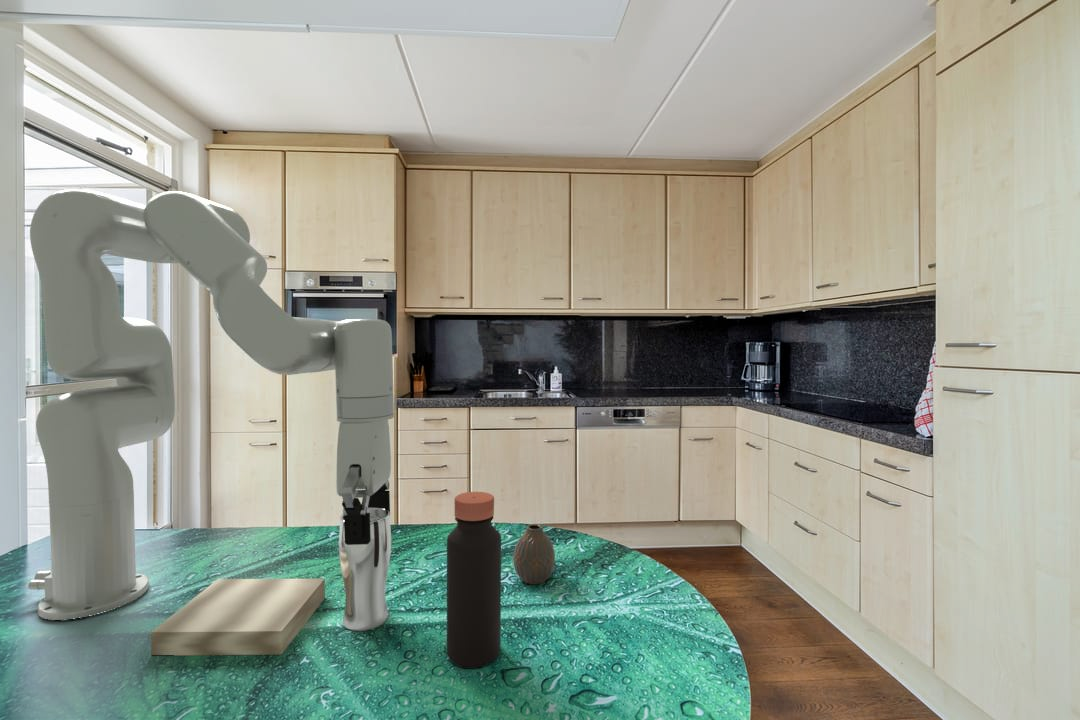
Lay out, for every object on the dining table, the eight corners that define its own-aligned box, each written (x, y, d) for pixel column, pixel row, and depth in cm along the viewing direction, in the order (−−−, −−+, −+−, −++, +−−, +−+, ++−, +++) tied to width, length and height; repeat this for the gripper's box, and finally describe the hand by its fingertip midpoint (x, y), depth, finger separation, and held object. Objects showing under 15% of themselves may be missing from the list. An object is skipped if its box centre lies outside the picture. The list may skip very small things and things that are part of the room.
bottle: (486, 675, 61) (486, 509, 60) (436, 662, 63) (436, 502, 62) (509, 643, 67) (510, 492, 66) (463, 632, 70) (463, 486, 69)
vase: (506, 583, 84) (506, 530, 83) (523, 566, 90) (523, 517, 90) (545, 592, 81) (546, 537, 81) (560, 573, 87) (561, 522, 87)
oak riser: (151, 655, 64) (150, 632, 64) (218, 598, 78) (217, 579, 78) (281, 654, 65) (281, 631, 64) (324, 597, 79) (324, 578, 78)
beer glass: (375, 636, 69) (375, 525, 68) (328, 629, 70) (327, 521, 69) (400, 609, 75) (399, 508, 75) (356, 603, 77) (356, 504, 76)
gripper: (358, 401, 80) (361, 509, 81) (312, 418, 63) (317, 556, 63) (407, 400, 80) (409, 508, 81) (374, 417, 63) (378, 555, 64)
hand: (369, 529), depth 72 cm, fingers open, 9 cm apart
